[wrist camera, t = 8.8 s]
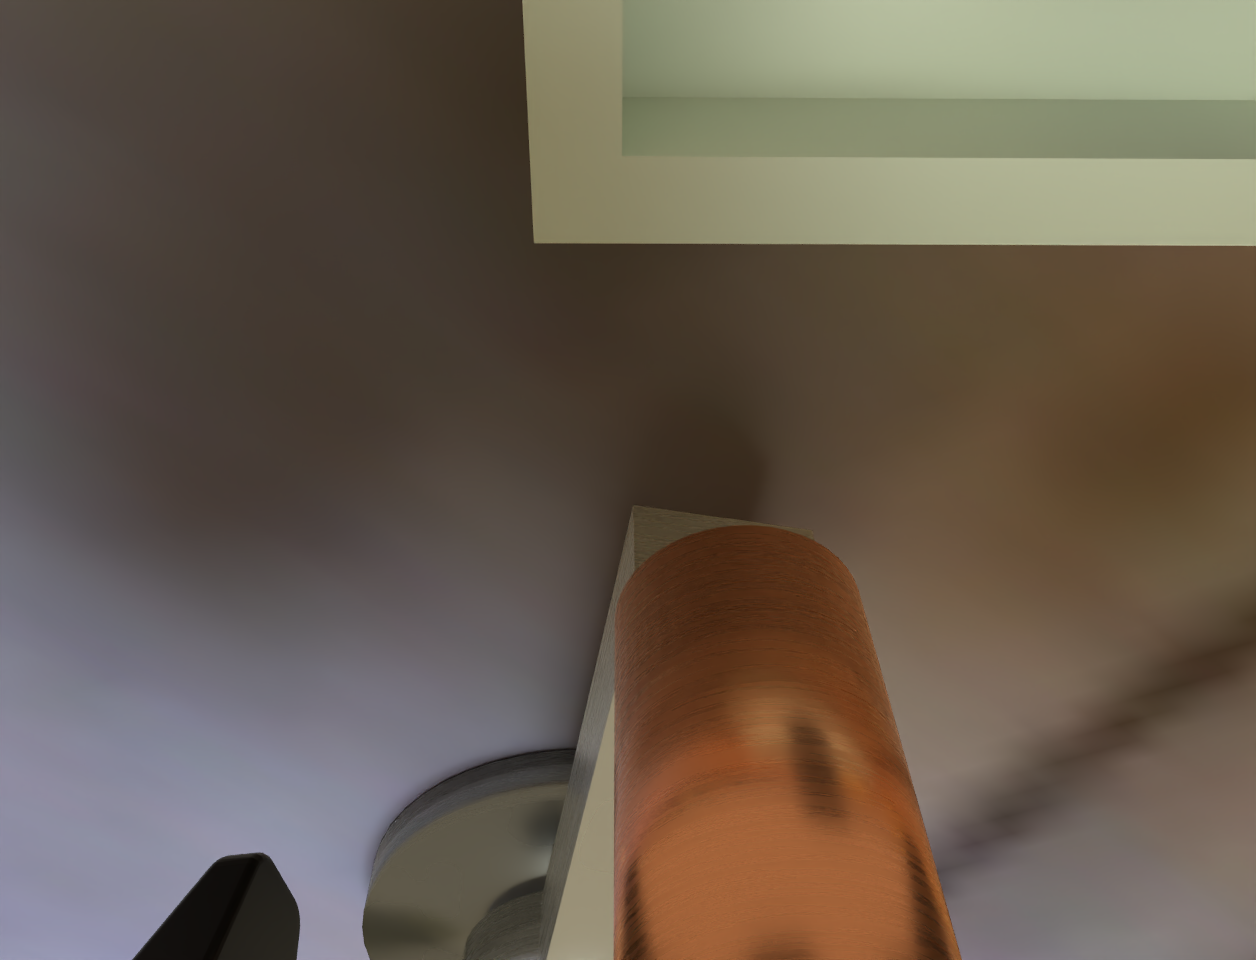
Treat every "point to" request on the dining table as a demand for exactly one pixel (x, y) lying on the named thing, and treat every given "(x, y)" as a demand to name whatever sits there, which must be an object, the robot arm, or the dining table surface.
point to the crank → (732, 770)
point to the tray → (892, 121)
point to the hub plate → (464, 855)
